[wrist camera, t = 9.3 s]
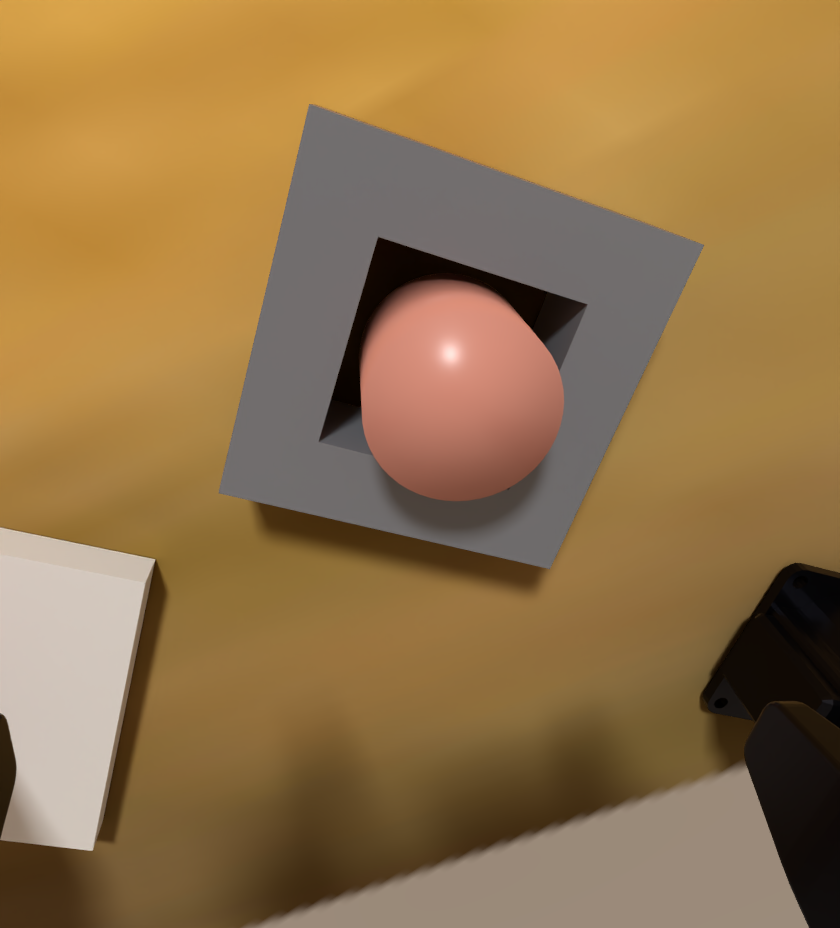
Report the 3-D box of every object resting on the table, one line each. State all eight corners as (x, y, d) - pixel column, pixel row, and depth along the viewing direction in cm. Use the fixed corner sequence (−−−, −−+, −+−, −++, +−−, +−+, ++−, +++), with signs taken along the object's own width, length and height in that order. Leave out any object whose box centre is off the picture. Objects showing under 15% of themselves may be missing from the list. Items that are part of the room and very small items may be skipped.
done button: (550, 302, 18) (596, 345, 14) (490, 450, 19) (519, 519, 16) (387, 250, 17) (397, 283, 13) (339, 410, 18) (338, 475, 15)
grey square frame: (653, 225, 19) (704, 245, 16) (525, 513, 22) (550, 568, 19) (315, 105, 17) (309, 104, 14) (235, 442, 20) (218, 493, 18)
